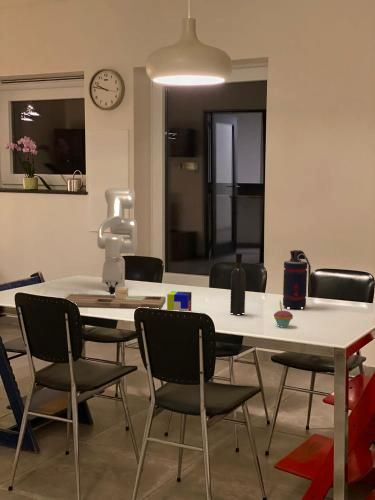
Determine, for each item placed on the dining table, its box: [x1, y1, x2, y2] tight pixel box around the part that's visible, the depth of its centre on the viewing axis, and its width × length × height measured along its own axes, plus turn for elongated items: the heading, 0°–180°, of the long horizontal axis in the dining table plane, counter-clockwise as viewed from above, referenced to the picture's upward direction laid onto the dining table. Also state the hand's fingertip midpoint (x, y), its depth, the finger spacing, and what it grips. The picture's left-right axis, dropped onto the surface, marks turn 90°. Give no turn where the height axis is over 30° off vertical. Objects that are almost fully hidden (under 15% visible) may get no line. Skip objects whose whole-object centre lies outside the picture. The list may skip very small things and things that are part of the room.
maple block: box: [114, 287, 129, 299], centre depth 356 cm, size 6×6×5 cm
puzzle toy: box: [166, 290, 192, 312], centre depth 329 cm, size 10×10×10 cm
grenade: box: [282, 249, 312, 309], centre depth 347 cm, size 14×12×30 cm
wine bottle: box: [229, 252, 247, 314], centre depth 328 cm, size 6×6×30 cm
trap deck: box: [64, 293, 167, 310], centre depth 352 cm, size 24×52×2 cm, turn 86°
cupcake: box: [273, 300, 294, 327], centre depth 303 cm, size 9×8×12 cm
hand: (112, 294), depth 357 cm, fingers closed
